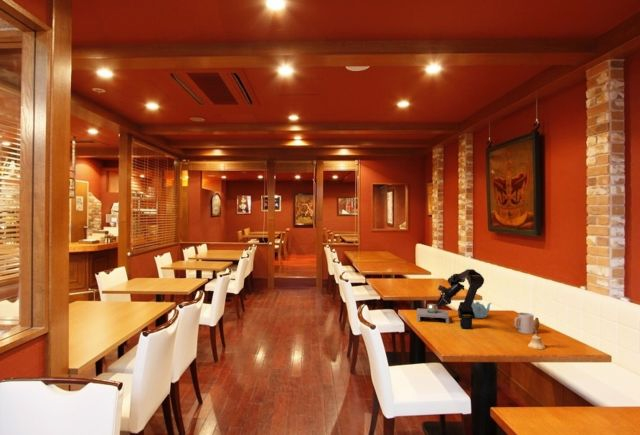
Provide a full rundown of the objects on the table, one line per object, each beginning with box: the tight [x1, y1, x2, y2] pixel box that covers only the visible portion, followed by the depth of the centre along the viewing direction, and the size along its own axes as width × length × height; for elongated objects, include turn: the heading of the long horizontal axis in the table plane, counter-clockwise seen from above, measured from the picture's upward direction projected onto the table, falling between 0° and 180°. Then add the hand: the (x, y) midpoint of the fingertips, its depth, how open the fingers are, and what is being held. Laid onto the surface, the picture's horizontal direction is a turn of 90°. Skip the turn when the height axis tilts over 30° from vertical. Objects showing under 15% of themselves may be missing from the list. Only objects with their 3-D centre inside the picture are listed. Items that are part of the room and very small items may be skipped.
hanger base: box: [416, 308, 450, 324], centre depth 261 cm, size 20×16×5 cm
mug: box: [514, 312, 535, 335], centre depth 234 cm, size 12×8×11 cm
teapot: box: [472, 300, 492, 319], centre depth 270 cm, size 15×15×10 cm
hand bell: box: [527, 317, 546, 350], centre depth 208 cm, size 8×8×16 cm
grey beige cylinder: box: [426, 303, 438, 320], centre depth 261 cm, size 6×6×9 cm
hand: (436, 305), depth 260 cm, fingers open, 9 cm apart
